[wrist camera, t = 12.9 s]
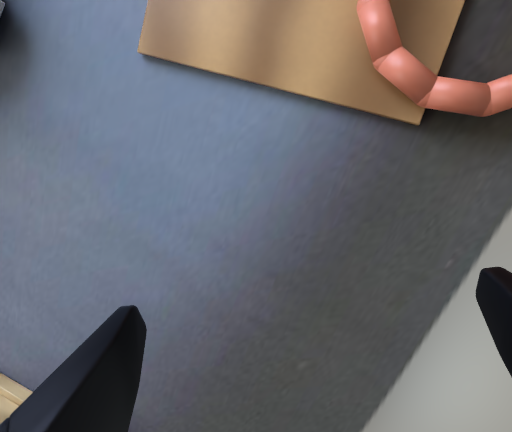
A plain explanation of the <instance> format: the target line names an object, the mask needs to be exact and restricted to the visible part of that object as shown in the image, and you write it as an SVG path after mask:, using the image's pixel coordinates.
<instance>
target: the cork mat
mask: <svg viewBox="0 0 512 432" xmlns="http://www.w3.org/2000/svg"><path fill="white" fill-rule="evenodd" d="M357 1H358V0H148V3H147V8H146V13H145V17H144V22H143V27H142V32H141V36H140V41H139V46H138V51H137V52H138V53H140V54H143V55H147V56H151V57H155V58H158V59H162V60H166V61H170V62H174V63H178V64H182V65H185V66H189V67H193V68H197V69H201V70H205V71H209V72H212V73H216V74H220V75H224V76H228V77H232V78H236V79H239V80H243V81H247V82H251V83H255V84H259V85H263V86H267V87H270V88H274V89H278V90H282V91H286V92H290V93H294V94H297V95H301V96H305V97H309V98H313V99H317V100H321V101H324V102H328V103H332V104H336V105H340V106H344V107H348V108H352V109H355V110H359V111H363V112H367V113H371V114H375V115H379V116H382V117H386V118H390V119H394V120H398V121H402V122H406V123H409V124H413V125H417V126H418V125H419V124H420V122H421V119H422V116H423V114H424V111H425V108H423V107H420V106H418V105H416V104H415V103H414V102H413V101H412V100H411V99H409V98H408V97H407V96H406V95H405V94H404V93H402V92H401V91H400V90H399V89H398V88H397V87H395V86H394V85H393V84H392V83H391V82H390V81H388V80H387V79H386V78H385V77H384V76H383V75H381V74H380V73H379V72H378V71H377V70H376V69H375V68H374V66H373V63H372V60H371V57H370V54H369V50H368V47H367V44H366V40H365V37H364V34H363V31H362V27H361V24H360V21H359V17H358V14H357ZM464 2H465V0H390V2H389V3H390V6H391V9H392V13H393V16H394V19H395V23H396V26H397V30H398V33H399V36H400V40H401V43H402V46H403V47H404V48H405V49H406V50H407V51H408V52H410V53H411V54H412V55H413V56H414V57H415V58H417V59H418V60H419V61H420V62H421V63H422V64H424V65H425V66H426V67H427V68H428V69H430V70H431V71H432V72H433V73H434V74H435V75H437V76H438V73H439V70H440V67H441V65H442V62H443V59H444V57H445V54H446V51H447V48H448V46H449V43H450V40H451V38H452V35H453V32H454V29H455V27H456V24H457V21H458V19H459V16H460V13H461V10H462V8H463V5H464Z"/></svg>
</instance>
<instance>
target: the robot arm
mask: <svg viewBox="0 0 512 432" xmlns="http://www.w3.org/2000/svg"><path fill="white" fill-rule="evenodd" d="M476 299H477V302H478V304H479V307H480V309H481V311H482V314H483V316H484V318H485V321H486V323H487V326H488V328H489V330H490V333H491V335H492V337H493V340H494V342H495V345H496V347H497V349H498V351H499V354H500V356H501V358H502V360H503V362H504V364H505V366H506V367H507V369H508V371H509V373H510V375H511V376H512V273H511V272H509V271H507V270H506V269H504V268H501V267H492V268H484V269H482V270H481V272H480V275H479V279H478V284H477V288H476ZM145 340H146V325H145V322H144V320H143V318H142V316H141V314H140V312H139V310H138V308H137V307H136V306H134V305H130V306H122V307H120V308H118V309H117V310H116V311H115V312H114V313H113V314H112V315H111V316H110V317H109V318H108V319H107V320H106V321H105V322H104V323H103V324H102V325H101V326H100V327H99V328H98V329H97V330H96V331H95V332H94V333H93V334H92V335H91V336H90V337H89V338H88V339H87V340H86V341H85V342H84V343H83V344H82V345H80V346H79V347H78V348H77V349H76V350H75V351H74V352H73V353H72V354H71V355H70V356H69V357H68V358H67V359H66V360H65V361H64V362H63V363H62V364H61V365H60V366H59V367H58V368H57V369H56V370H55V371H54V372H53V373H52V374H51V375H50V376H49V377H48V378H47V379H46V380H45V381H44V382H43V383H42V384H41V385H40V386H39V387H38V388H37V389H36V390H35V391H34V392H33V393H32V394H31V395H30V396H29V397H28V398H27V399H26V400H25V401H24V402H23V403H22V404H21V405H20V406H19V407H17V408H16V409H15V410H14V411H13V412H12V413H11V415H10V418H9V417H8V418H6V419H5V420H4V421H3V422H2V423H1V424H0V432H128V428H129V424H130V420H131V416H132V412H133V408H134V404H135V400H136V396H137V392H138V387H139V382H140V375H141V368H142V361H143V354H144V347H145Z"/></svg>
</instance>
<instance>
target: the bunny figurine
mask: <svg viewBox="0 0 512 432" xmlns="http://www.w3.org/2000/svg"><path fill="white" fill-rule="evenodd" d="M4 6H5V3H4V2H3V1H1V0H0V16H1V13H2V11H3V8H4Z"/></svg>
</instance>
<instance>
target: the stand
mask: <svg viewBox="0 0 512 432" xmlns="http://www.w3.org/2000/svg"><path fill="white" fill-rule="evenodd" d="M32 393H33V392H32V391H30V390H29V389H27V388H25V387H23V386H22V385H20V384H18V383H17V382H15V381H13V380H12V379H10V378H8V377H7V376H5V375H3V374H2V373H0V424H1V423H2V422H3V421H4V420H5V419H6V418H8V417H9V418H10V415H11V413H12V412H13V411H14V410H15V409H16V408H17V407H19V406H20V405H21V404H22V403H23V402H24V401H25V400H26V399H27V398H28V397H29V396H30V395H31V394H32Z"/></svg>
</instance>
